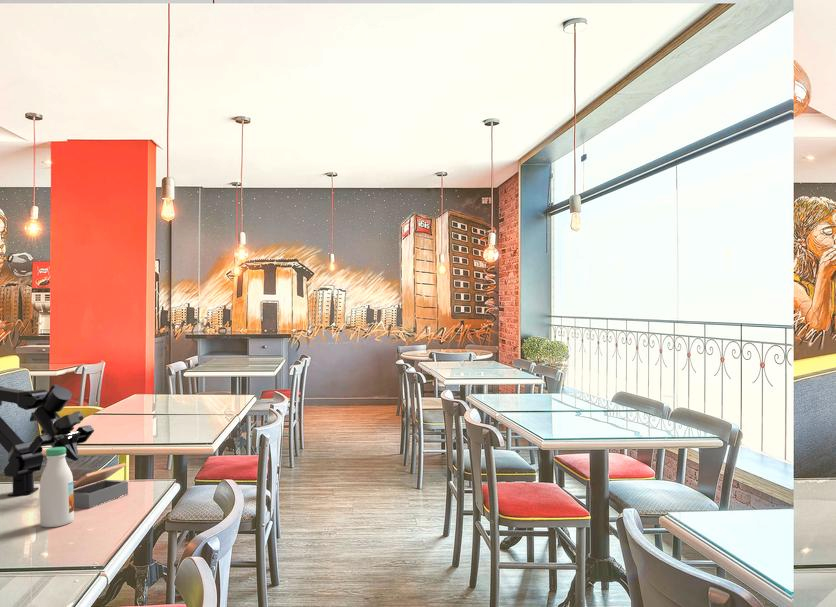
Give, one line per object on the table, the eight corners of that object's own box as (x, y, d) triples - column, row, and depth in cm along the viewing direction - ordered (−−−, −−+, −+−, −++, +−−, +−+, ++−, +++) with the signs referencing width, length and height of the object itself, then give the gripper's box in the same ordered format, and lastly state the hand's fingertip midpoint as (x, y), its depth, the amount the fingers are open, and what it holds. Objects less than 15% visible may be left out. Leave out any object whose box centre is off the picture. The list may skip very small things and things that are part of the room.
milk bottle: (63, 527, 158) (61, 450, 158) (33, 528, 158) (32, 451, 158) (80, 518, 166) (78, 444, 166) (52, 518, 166) (50, 445, 166)
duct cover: (66, 491, 177) (65, 488, 177) (106, 478, 190) (105, 476, 191) (87, 476, 174) (86, 474, 175) (126, 465, 188) (125, 462, 188)
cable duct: (66, 506, 177) (66, 492, 177) (106, 492, 190) (105, 479, 190) (89, 508, 174) (89, 494, 174) (128, 494, 187) (127, 481, 187)
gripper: (35, 409, 179) (63, 448, 175) (89, 400, 196) (115, 436, 192) (16, 434, 181) (43, 474, 177) (71, 423, 199) (97, 459, 195)
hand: (77, 459), depth 185 cm, fingers closed
